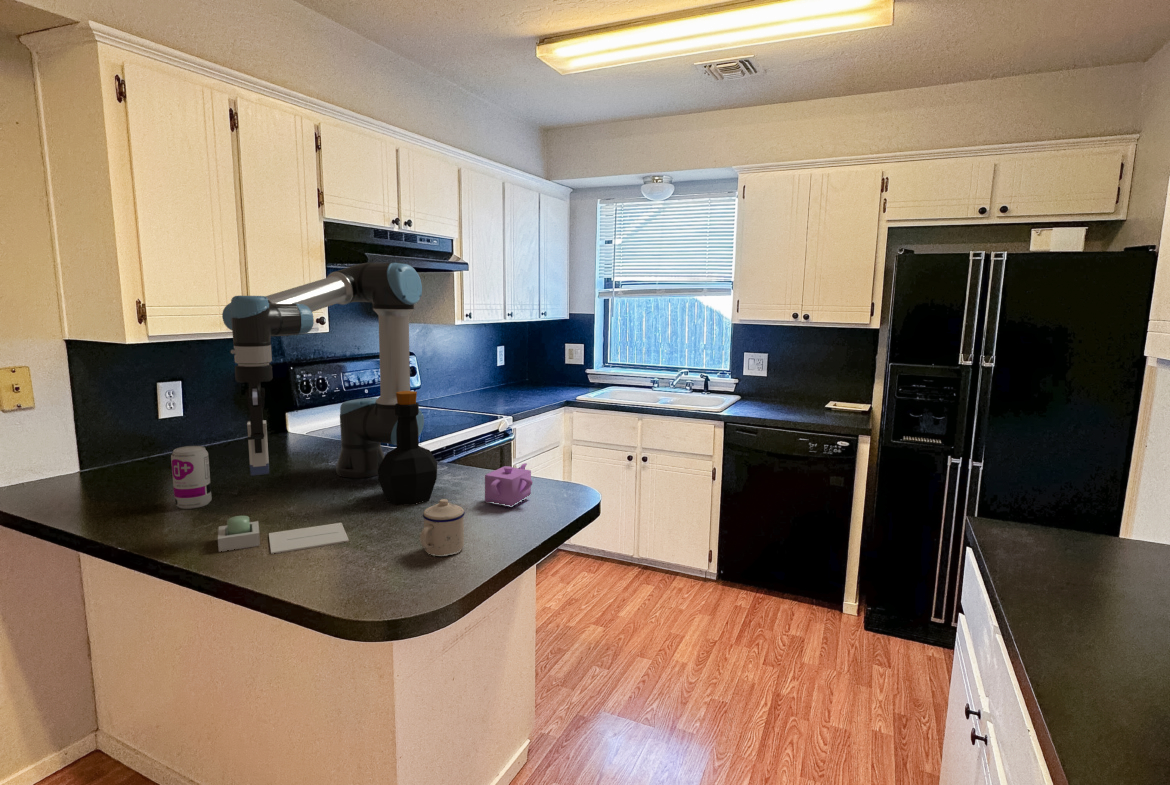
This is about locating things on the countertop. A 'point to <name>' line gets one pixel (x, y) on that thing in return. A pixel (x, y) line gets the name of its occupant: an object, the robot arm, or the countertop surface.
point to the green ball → (238, 525)
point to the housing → (238, 538)
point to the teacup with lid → (443, 528)
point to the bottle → (407, 458)
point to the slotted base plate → (307, 538)
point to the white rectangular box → (265, 469)
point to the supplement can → (191, 477)
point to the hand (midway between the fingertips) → (259, 463)
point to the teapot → (508, 485)
